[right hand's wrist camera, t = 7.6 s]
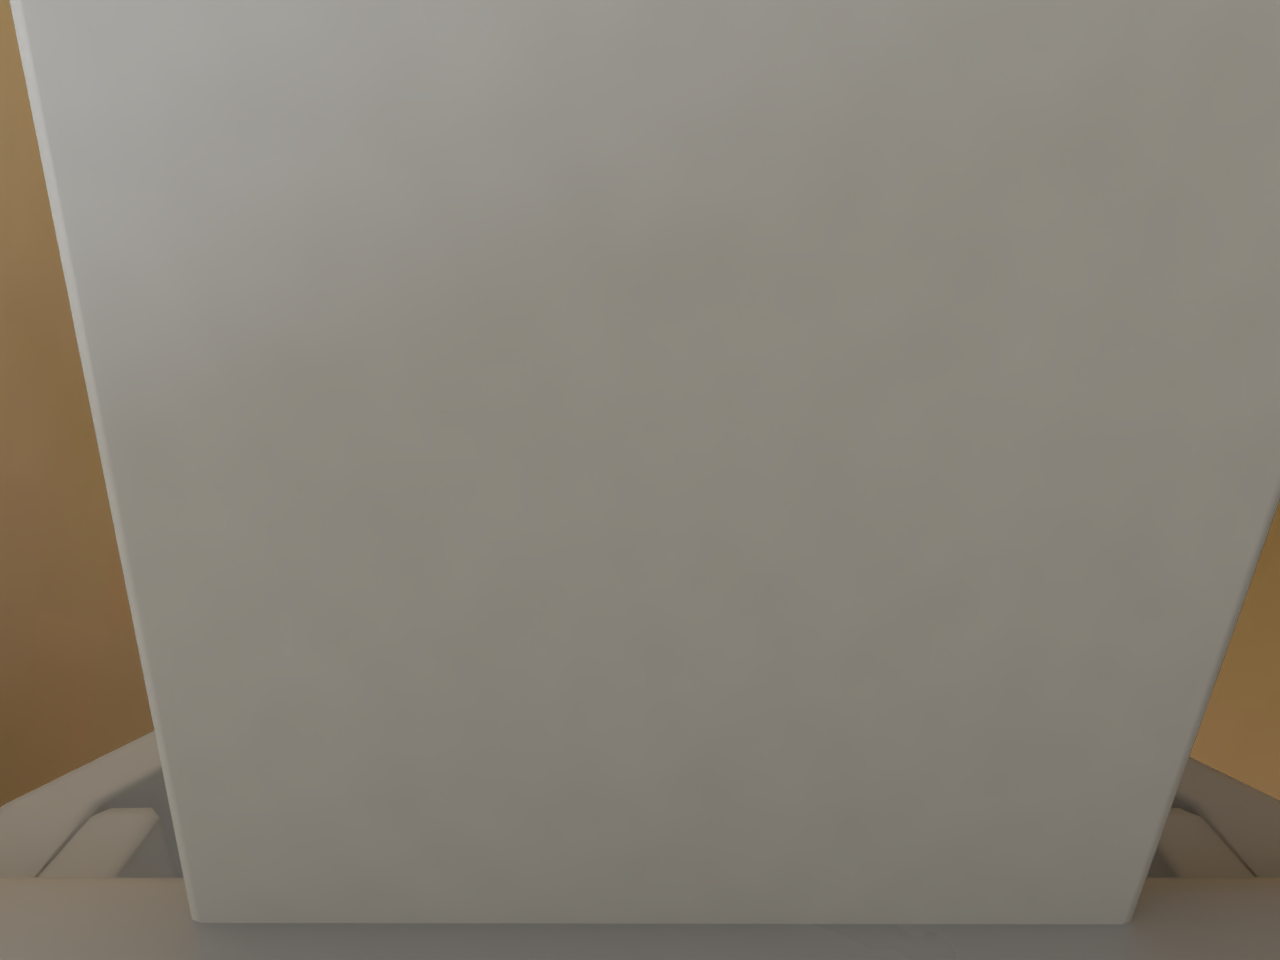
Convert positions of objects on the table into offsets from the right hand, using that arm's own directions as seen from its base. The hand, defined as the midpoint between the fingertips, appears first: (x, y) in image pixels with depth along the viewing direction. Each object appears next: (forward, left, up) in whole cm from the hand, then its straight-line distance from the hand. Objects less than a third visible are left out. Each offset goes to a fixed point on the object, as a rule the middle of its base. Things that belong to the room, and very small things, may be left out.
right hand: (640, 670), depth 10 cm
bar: (+2, +8, -4) cm, 9 cm away
